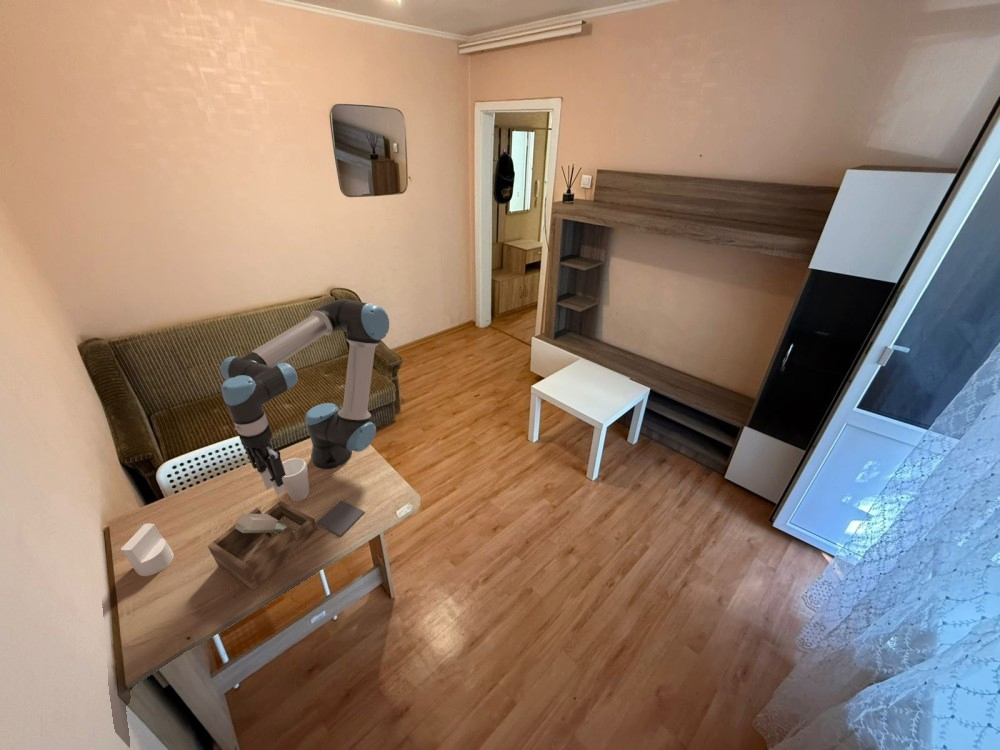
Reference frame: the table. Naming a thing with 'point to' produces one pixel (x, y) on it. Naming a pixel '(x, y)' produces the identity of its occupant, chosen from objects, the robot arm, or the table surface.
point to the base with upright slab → (148, 551)
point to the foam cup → (296, 478)
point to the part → (257, 521)
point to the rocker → (277, 529)
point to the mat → (340, 518)
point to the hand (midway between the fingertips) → (275, 489)
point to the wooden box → (270, 554)
